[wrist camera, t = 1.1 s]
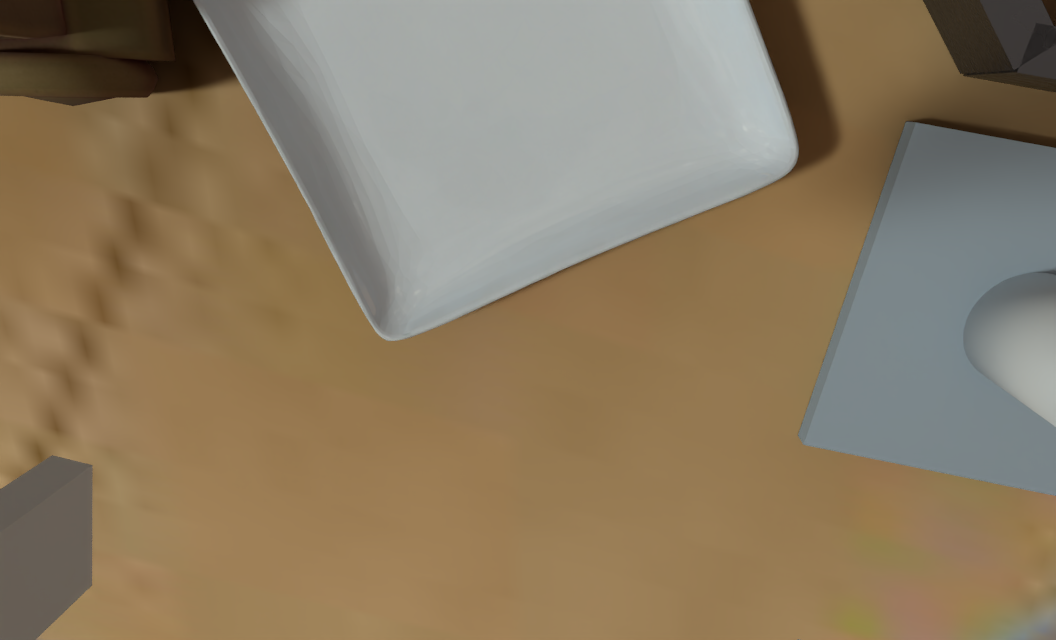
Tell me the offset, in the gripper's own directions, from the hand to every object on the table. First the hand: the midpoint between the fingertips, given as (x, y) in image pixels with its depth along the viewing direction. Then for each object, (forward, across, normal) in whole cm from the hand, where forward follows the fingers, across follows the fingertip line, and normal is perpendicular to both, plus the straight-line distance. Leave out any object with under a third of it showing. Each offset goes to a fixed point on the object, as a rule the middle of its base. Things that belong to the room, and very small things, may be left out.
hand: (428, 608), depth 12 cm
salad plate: (+24, -4, +10) cm, 26 cm away
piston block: (+23, +23, +4) cm, 33 cm away
